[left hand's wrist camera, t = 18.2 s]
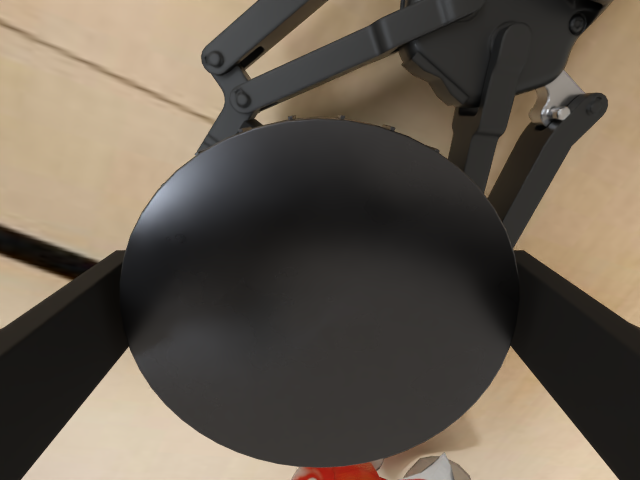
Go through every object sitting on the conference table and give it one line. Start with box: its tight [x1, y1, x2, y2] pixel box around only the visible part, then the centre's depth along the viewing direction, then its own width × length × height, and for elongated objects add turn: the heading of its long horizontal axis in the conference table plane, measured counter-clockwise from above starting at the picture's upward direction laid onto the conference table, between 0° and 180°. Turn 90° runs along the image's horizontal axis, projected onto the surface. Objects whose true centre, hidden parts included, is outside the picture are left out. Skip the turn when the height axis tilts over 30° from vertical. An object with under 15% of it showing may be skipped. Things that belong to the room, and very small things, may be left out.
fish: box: [291, 452, 471, 480], centre depth 29 cm, size 11×16×10 cm
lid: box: [120, 115, 519, 468], centre depth 11 cm, size 11×11×2 cm
